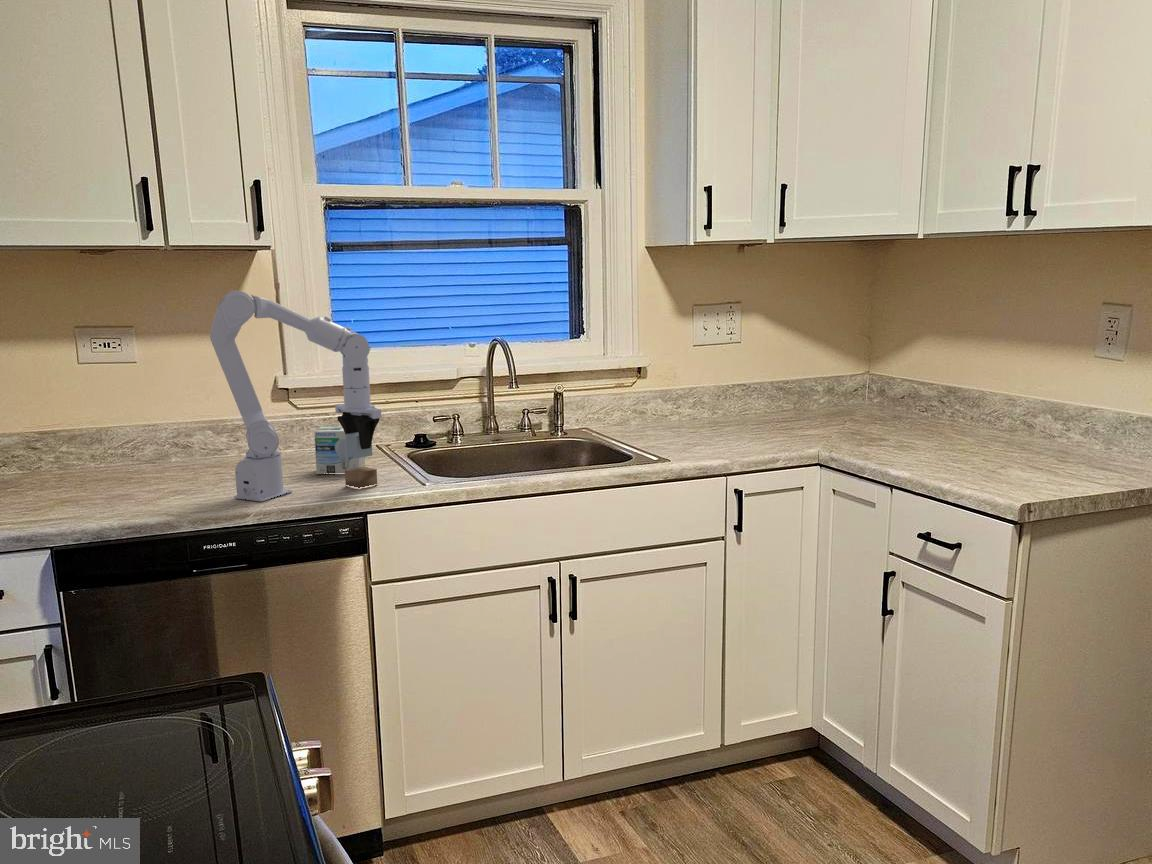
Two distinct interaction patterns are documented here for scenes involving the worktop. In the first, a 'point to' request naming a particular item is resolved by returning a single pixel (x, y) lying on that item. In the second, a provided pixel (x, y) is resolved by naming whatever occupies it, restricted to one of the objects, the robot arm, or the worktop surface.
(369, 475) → the walnut block
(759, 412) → the worktop surface
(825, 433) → the worktop surface
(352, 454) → the slate block
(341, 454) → the light bulb box
